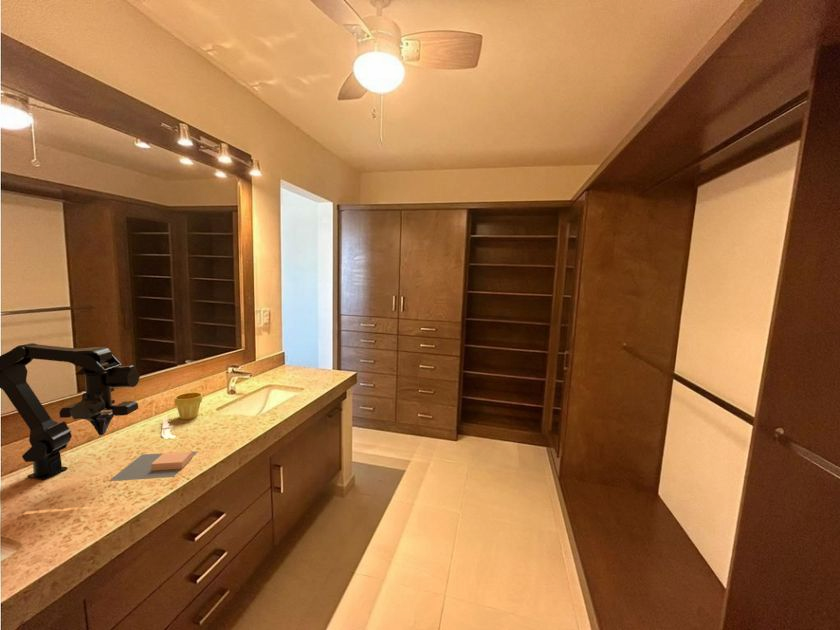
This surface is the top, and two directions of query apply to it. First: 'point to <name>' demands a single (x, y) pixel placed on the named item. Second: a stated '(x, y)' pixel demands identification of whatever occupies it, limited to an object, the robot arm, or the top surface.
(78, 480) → the top surface
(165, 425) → the knife
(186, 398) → the plant pot
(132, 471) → the mat
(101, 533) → the top surface
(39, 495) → the top surface
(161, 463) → the tile
